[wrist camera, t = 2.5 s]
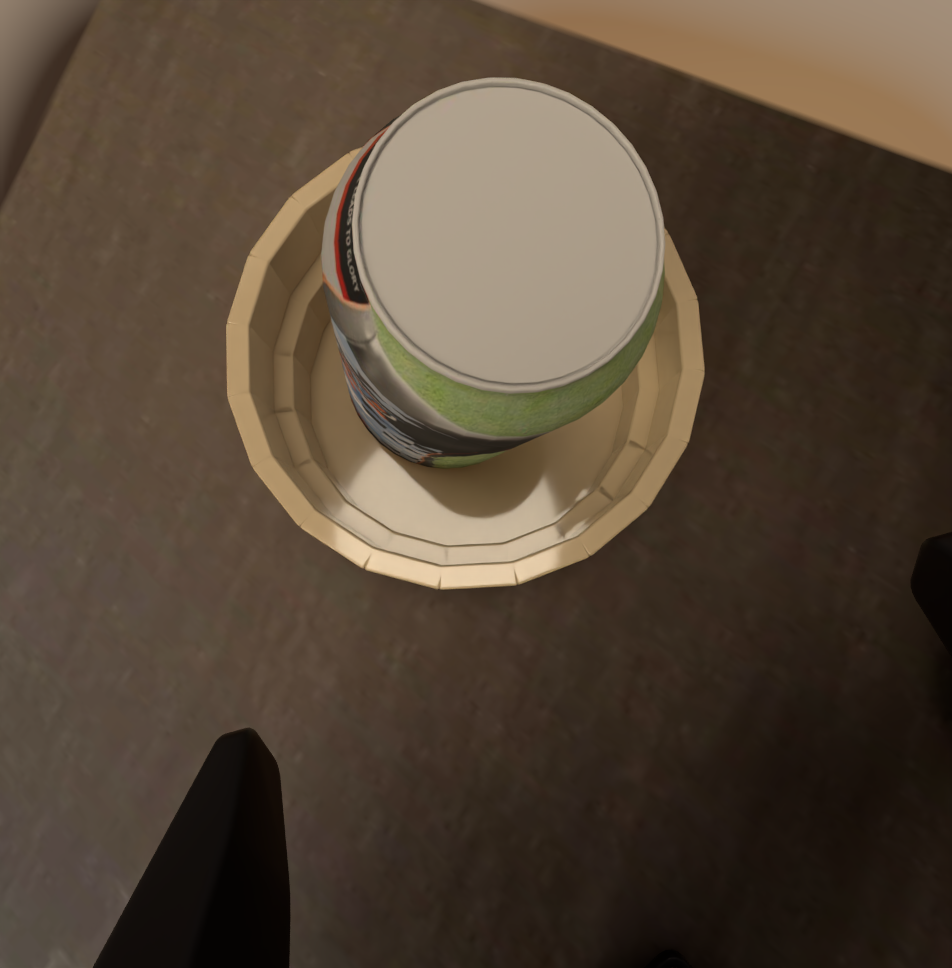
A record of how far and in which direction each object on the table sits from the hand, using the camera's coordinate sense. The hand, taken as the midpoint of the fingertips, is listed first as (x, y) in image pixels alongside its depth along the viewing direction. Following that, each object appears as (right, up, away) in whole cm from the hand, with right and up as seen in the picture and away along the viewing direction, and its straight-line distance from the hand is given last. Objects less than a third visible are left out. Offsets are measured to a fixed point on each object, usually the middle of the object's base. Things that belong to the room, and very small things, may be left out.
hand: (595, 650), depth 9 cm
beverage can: (-2, +5, +13) cm, 14 cm away
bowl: (-2, +5, +14) cm, 15 cm away
